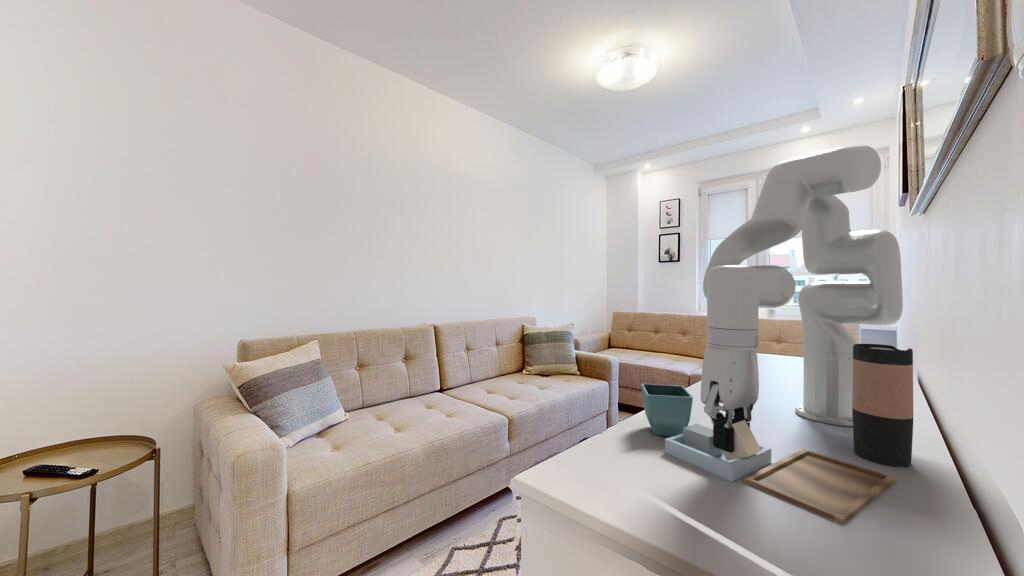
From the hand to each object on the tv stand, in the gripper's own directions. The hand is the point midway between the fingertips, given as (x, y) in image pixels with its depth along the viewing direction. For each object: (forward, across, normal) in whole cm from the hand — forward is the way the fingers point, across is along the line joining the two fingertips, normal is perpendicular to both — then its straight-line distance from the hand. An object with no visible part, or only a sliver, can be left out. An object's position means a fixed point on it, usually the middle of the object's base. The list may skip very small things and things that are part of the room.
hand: (731, 445), depth 64 cm
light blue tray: (+4, 0, -3) cm, 5 cm away
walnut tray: (+4, -6, +10) cm, 12 cm away
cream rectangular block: (+1, 0, +2) cm, 2 cm away
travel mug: (+4, -25, +12) cm, 28 cm away
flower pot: (+4, -4, -16) cm, 17 cm away
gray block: (+1, 0, -8) cm, 8 cm away
